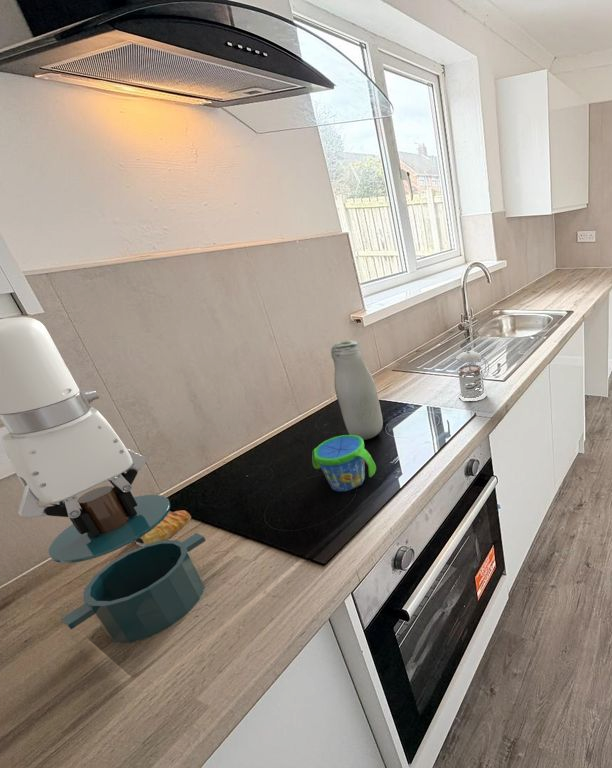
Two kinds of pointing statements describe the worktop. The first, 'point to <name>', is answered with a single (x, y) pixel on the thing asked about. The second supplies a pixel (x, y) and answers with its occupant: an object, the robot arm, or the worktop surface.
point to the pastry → (165, 528)
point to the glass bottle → (356, 391)
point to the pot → (143, 591)
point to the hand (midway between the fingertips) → (111, 522)
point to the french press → (469, 389)
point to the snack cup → (343, 461)
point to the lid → (108, 525)
